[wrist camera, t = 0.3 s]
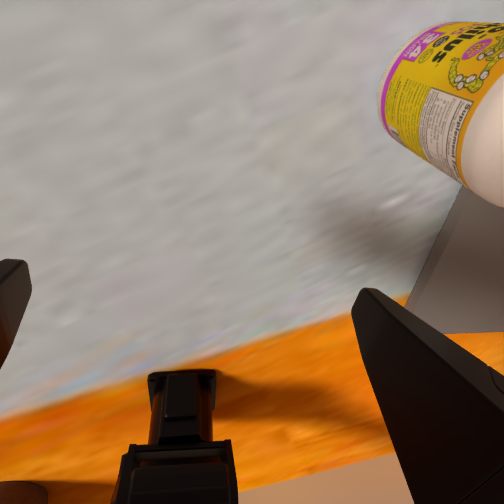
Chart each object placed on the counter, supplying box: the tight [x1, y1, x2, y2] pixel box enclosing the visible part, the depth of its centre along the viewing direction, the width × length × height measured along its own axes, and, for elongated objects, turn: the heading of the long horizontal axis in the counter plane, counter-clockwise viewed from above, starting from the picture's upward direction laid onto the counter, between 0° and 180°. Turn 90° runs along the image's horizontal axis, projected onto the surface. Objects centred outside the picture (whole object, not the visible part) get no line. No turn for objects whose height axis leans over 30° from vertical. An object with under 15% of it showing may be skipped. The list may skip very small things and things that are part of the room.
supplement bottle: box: [378, 22, 504, 208], centre depth 15 cm, size 7×7×13 cm
